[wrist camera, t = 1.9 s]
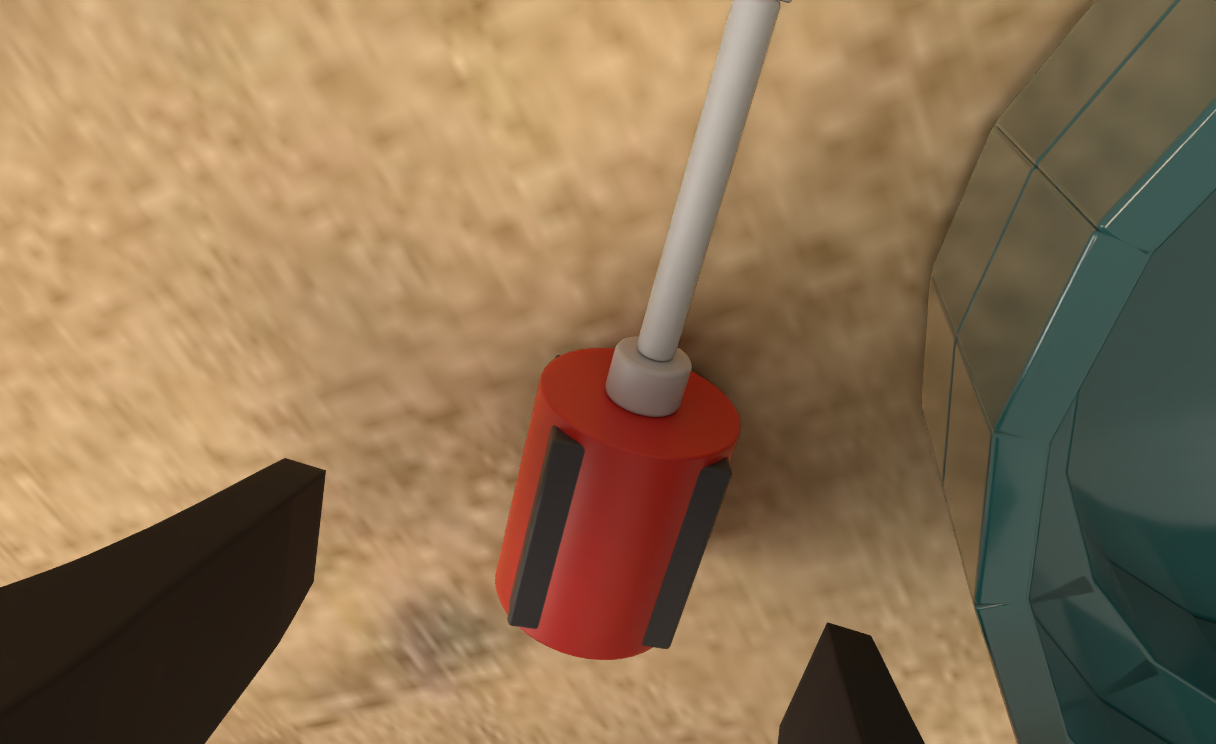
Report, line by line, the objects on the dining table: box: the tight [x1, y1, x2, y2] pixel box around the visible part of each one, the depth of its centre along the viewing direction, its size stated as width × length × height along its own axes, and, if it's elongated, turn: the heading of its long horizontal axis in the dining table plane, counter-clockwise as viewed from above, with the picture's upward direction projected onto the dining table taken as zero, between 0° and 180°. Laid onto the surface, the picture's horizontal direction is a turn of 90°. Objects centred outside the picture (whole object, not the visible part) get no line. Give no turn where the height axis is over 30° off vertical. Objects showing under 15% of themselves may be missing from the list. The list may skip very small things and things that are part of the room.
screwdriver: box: [495, 0, 791, 660], centre depth 14 cm, size 11×3×3 cm, turn 167°
